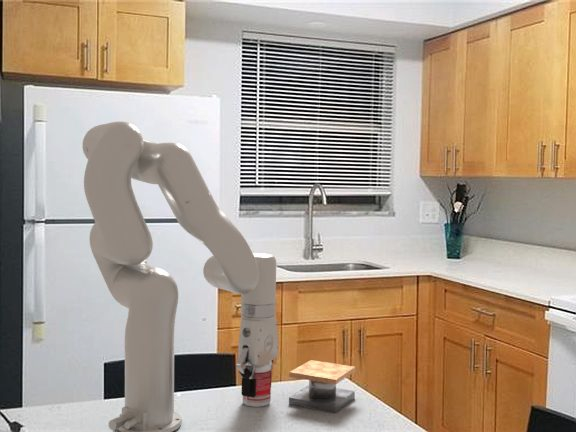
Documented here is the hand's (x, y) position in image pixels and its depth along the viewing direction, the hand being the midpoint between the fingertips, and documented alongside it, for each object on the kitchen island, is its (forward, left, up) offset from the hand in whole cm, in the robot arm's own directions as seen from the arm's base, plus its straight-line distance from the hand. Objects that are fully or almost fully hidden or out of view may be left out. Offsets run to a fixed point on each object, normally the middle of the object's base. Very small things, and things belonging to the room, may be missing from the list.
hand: (256, 391), depth 145 cm
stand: (+8, -12, -3) cm, 15 cm away
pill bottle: (0, 0, -3) cm, 3 cm away
